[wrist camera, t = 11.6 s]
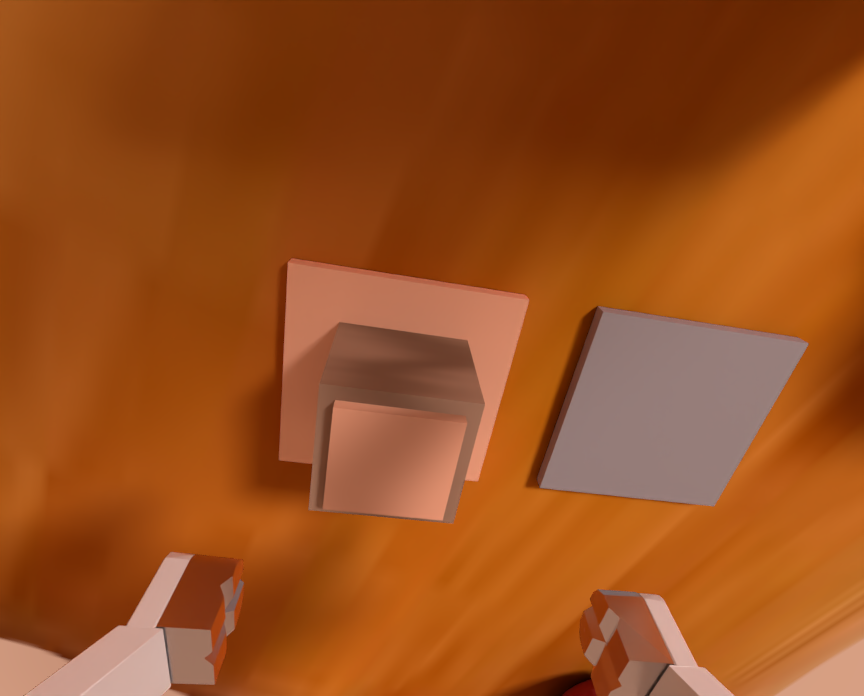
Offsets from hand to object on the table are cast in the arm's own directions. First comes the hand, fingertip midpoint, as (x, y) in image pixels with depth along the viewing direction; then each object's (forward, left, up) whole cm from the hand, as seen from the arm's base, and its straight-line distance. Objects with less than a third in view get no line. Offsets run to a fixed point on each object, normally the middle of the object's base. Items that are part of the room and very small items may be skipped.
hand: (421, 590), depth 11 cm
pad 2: (-11, 0, -10) cm, 15 cm away
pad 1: (+1, 0, -10) cm, 10 cm away
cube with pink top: (+1, 0, -9) cm, 9 cm away
